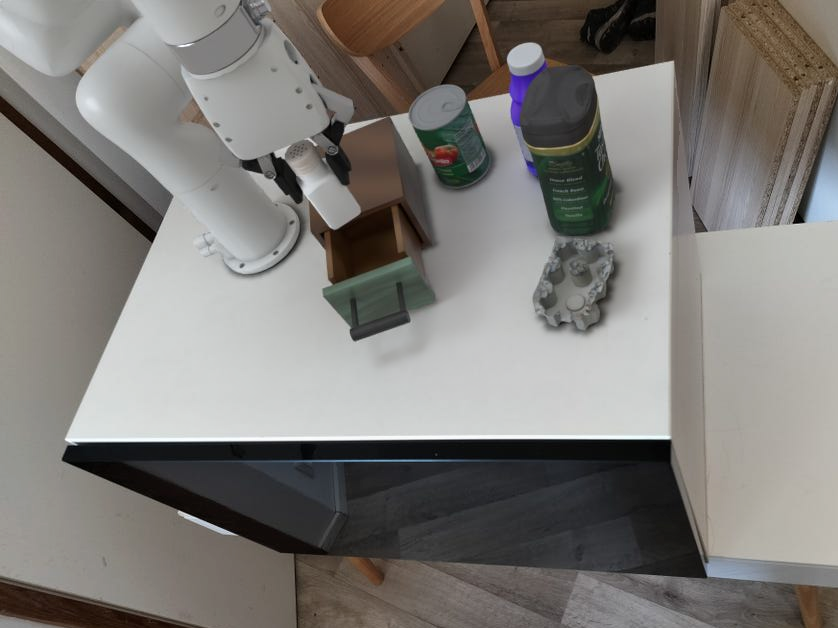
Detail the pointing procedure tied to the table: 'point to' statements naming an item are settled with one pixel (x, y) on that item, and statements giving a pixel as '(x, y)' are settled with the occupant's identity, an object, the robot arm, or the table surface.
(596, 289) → the egg carton
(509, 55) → the bottle
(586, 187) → the coffee jar
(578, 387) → the table surface
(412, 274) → the drawer
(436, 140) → the canned tomato
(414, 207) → the cabinet
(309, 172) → the salt shaker
